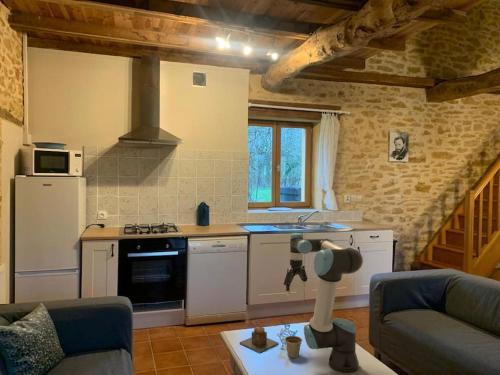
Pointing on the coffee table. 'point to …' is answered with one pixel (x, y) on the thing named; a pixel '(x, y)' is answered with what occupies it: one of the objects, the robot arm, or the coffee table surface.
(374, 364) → the coffee table surface
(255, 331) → the knob
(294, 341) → the flower pot
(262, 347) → the post plate
